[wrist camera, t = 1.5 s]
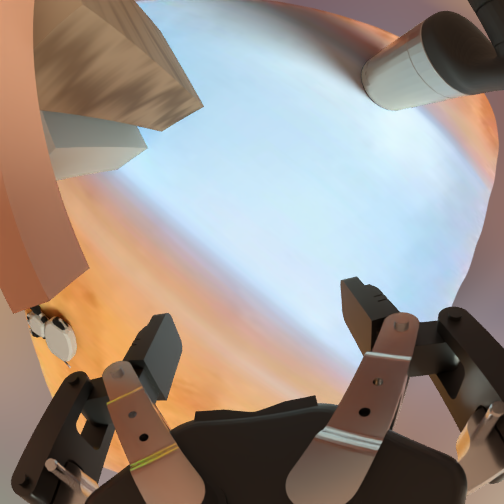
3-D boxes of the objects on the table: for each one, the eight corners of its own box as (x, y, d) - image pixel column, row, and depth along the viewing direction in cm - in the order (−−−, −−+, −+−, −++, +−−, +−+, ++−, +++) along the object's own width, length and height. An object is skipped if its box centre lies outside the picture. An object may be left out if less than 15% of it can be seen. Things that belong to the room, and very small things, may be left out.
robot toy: (36, 327, 49) (80, 360, 50) (25, 336, 45) (70, 371, 46) (34, 288, 45) (82, 323, 46) (22, 296, 41) (70, 334, 42)
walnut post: (160, 30, 29) (53, -78, 1) (203, 106, 34) (82, 4, 6) (122, 55, 30) (-14, -17, 2) (161, 131, 35) (-13, 107, 7)
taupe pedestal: (117, 87, 32) (26, 54, 13) (147, 148, 36) (55, 148, 16) (89, 109, 33) (-8, 96, 14) (117, 169, 37) (19, 189, 17)
